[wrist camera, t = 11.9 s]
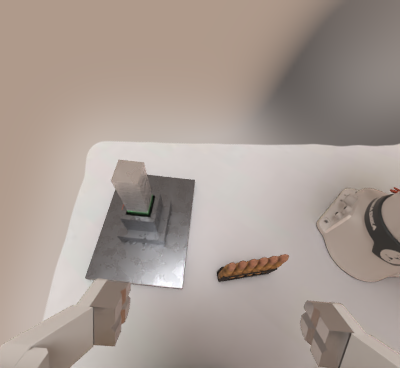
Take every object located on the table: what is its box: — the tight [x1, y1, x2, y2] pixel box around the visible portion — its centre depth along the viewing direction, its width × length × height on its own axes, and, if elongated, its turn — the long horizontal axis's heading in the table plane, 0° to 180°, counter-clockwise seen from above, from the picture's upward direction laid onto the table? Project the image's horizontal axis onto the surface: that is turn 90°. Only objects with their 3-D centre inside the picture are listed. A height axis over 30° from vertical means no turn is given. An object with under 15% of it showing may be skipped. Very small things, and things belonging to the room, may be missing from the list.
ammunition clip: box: [217, 254, 289, 282], centre depth 38 cm, size 11×2×12 cm, turn 99°
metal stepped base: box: [85, 175, 195, 289], centre depth 43 cm, size 24×18×10 cm
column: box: [111, 160, 154, 218], centre depth 36 cm, size 4×4×14 cm
